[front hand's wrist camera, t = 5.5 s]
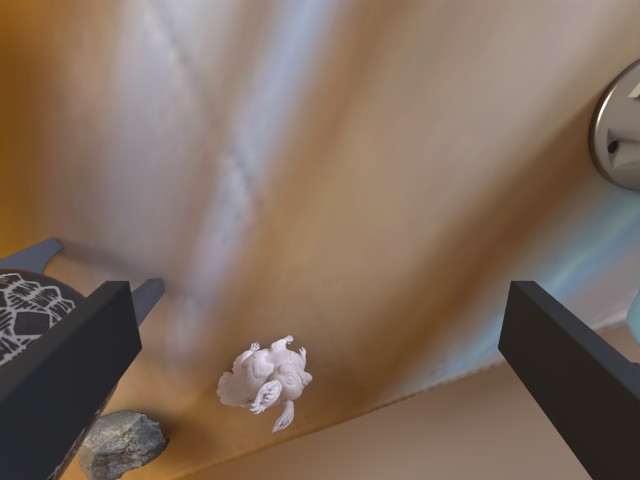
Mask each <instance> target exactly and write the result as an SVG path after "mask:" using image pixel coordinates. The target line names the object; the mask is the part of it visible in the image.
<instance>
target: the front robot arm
mask: <svg viewBox="0 0 640 480" xmlns="http://www.w3.org/2000/svg"><path fill="white" fill-rule="evenodd" d="M589 150H590V155H591V158H592V161H593V163H594V165H595V167H596V168H597V170H598V171H599V173H600V174H601V175H602V176H603V177H604V178H605V179H607V180H608V181H609V182H611V183H613V184H615V185H617V186H619V187H623V188H626V189H630V190H633V191H639V192H640V59H638V60H637V61H635V62H634V63H632V64H631V65H630V66H628V67H627V68H626V69H625V70H623V71H622V72H621V73H620V74H619V75H618V76H617V77H616V78H615V79H614V80H613V82H612V83H611V84H610V85H609V86H608V88H607V89H606V91H605V92H604V93H603V95H602V97H601V98H600V100H599V102H598V104H597V106H596V108H595V111H594V113H593V116H592V120H591V124H590V128H589ZM627 323H628V326H629V328H630V331H631V334H632V336H633V337H634V339H635V340H636V341H637V343H638V344H639V345H640V283H639V286H638V293H637V295H636V297H635V299H634V300H633V302H632V304H631V306H630V308H629V310H628V313H627ZM141 349H142V345H141V340H140V335H139V330H138V325H137V320H136V315H135V310H134V305H133V300H132V295H131V290H130V285H129V281H106V282H105V283H103V284H102V285H101V286H100V287H99V288H98V289H96V290H95V291H94V292H93V293H92V294H90V295H89V296H88V297H87V298H86V299H84V300H83V301H82V302H81V303H80V304H78V305H77V306H76V307H75V308H74V309H72V310H71V311H70V312H69V313H68V314H66V315H65V316H64V317H63V318H62V319H60V320H59V321H58V322H57V323H56V324H55V325H53V326H52V327H51V328H50V329H49V330H47V331H46V332H45V333H44V334H43V335H41V336H40V337H39V338H38V339H37V340H35V341H34V342H33V343H32V344H31V345H29V346H28V347H27V348H26V349H25V350H23V351H22V352H21V353H20V354H19V355H17V356H16V357H15V358H14V359H13V360H12V361H10V362H9V363H8V364H2V365H1V366H0V480H47V479H48V478H49V476H50V475H51V474H52V472H53V471H54V469H55V468H56V467H57V465H58V464H59V463H60V461H61V460H62V458H63V457H64V456H65V454H66V453H67V451H68V450H69V449H70V447H71V446H72V445H73V443H74V442H75V440H76V439H77V438H78V436H79V435H80V434H81V432H82V431H83V429H84V428H85V427H86V425H87V424H88V422H89V421H90V420H91V418H92V417H93V416H94V414H95V413H96V411H97V410H98V409H99V407H100V406H101V404H102V403H103V402H104V400H105V399H106V398H107V396H108V395H109V393H110V392H111V391H112V389H113V388H114V386H115V385H116V384H117V382H118V381H119V380H120V378H121V377H122V375H123V374H124V373H125V371H126V370H127V369H128V367H129V366H130V364H131V363H132V362H133V360H134V359H135V357H136V356H137V355H138V353H139V352H140V351H141ZM498 349H499V351H500V352H501V353H502V355H503V356H504V357H505V359H506V360H507V362H508V363H509V364H510V366H511V367H512V368H513V370H514V371H515V373H516V374H517V375H518V377H519V378H520V380H521V381H522V382H523V384H524V385H525V386H526V388H527V389H528V391H529V392H530V393H531V395H532V396H533V398H534V399H535V400H536V402H537V403H538V404H539V406H540V407H541V409H542V410H543V411H544V413H545V414H546V416H547V417H548V418H549V420H550V421H551V422H552V424H553V425H554V427H555V428H556V429H557V431H558V432H559V434H560V435H561V436H562V438H563V439H564V440H565V442H566V443H567V445H568V446H569V447H570V449H571V450H572V451H573V453H574V454H575V456H576V457H577V458H578V460H579V461H580V462H581V464H582V465H583V467H584V468H585V469H586V471H587V472H588V474H589V475H590V476H591V478H592V479H593V480H640V364H639V363H631V362H630V361H628V360H627V359H626V358H625V357H624V356H623V355H621V354H620V353H619V352H618V351H617V350H615V349H614V348H613V347H612V346H611V345H609V344H608V343H607V342H606V341H605V340H603V339H602V338H601V337H600V336H599V335H597V334H596V333H595V332H594V331H593V330H591V329H590V328H589V327H588V326H587V325H585V324H584V323H583V322H582V321H581V320H580V319H578V318H577V317H576V316H575V315H574V314H572V313H571V312H570V311H569V310H568V309H566V308H565V307H564V306H563V305H562V304H560V303H559V302H558V301H557V300H556V299H554V298H553V297H552V296H551V295H550V294H548V293H547V292H546V291H545V290H544V289H542V288H541V287H540V286H539V285H538V284H537V283H535V282H534V281H511V285H510V290H509V295H508V300H507V305H506V310H505V315H504V320H503V325H502V330H501V335H500V340H499V345H498Z"/></svg>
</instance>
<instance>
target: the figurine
mask: <svg viewBox="0 0 640 480" xmlns="http://www.w3.org/2000/svg"><path fill="white" fill-rule="evenodd" d="M293 340H294V339H292V336H290V335H288V336H287V337H286V338H284V339H281V340H278V341H277V342H274V343H272V345H271V346H270V348H267V349H263V350H259V351H257V350H258V349H259V348H260V347H258V346H259V344H257V345H256V343H255V344H254V346H253V344H251V347H250V349H249V351H245V352H244V353H242V355H240V356H238V358H236V361H235V362H234V363H233V366H234V367H233V368H232V370H233V373H230V372H224V373H223V375H222V377H221V378H220V379H219V383H218V389H217V392H216V393H217V395H219V396H221V398H220V401H221V403H222V404H224V405H229V406H230V407H238V406H239V407H242V408H253V409H250V410H251V411H253V412H255V411H257V410H258V411H257V412H256V413H254V414H259V413H260V412H261V411H263V412H264V409H266V408H268V407H274V406H278V405H282V407H283V412H282V414H281V415H280V417H279V418H278V419H277V420H276V422H275V424H274V428H273V430H272V431H271V434H272V433H273V432H274V433H276V431H277V430H278V431H279V430H282V429H284V428H286V427H287V426H288V425H289V424H290V423H291V422H292V420H293V417H294V405H293V402H292V400H295V399H297V398H299V397H300V395H301V393H302V391H303V389H304V387H305V386H306V385H308V383H310V382H311V381H312V376H311V375H310V374H309V373H307V372H304V368H305V364H306V357H305V355H306V350H305V349H303V348H302V347H301V349H302V351H301V349H299V351H300V355H299V354H297V353H295V352H293V351H290V350H287V349H286V344H291V343H290V342H291V341H293ZM255 346H256V347H255ZM257 347H258V348H257ZM248 400H250V401H248Z"/></svg>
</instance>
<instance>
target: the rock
mask: <svg viewBox="0 0 640 480" xmlns="http://www.w3.org/2000/svg"><path fill="white" fill-rule="evenodd" d="M140 417H141V418H140ZM139 418H140V419H139ZM168 442H169V439H167V441H166V443H165V439H164V438H163V435H162V432H161V430H160V428H159V423H158V422H153V421H150V420H149V419H148V418H147V417H146V415H145V414H142V415H141V414H140V413H135V412H134V411H132V410H123V411H119V412H118V411H117V412H114V413H111V414H108V415H105V416H101V417H99V418H98V420H97V421H96V423H95V424H94V426H93V428H92V429H91V431H90V432H89V434H88V436H87V437H86V439H85V440H84V442H83V443H82V445H81V447H80V448H79V450H78V457H79V462H80V464H81V470H82V471H83V472H84V473H85V474H86V476H87V478H88V479H90V480H115V479H118V478H121V477H122V475H123V474H124V473H125V472H126V471H129V470H132V469H135V468H139V467H141V466H144V465H146V464H147V463H149V462H151V461H152V460H154V459H155V458H157V457H158V456H159V455H160V454H161V452H162V451H164V450H165V448H166V447H167V445H168Z"/></svg>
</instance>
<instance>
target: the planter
mask: <svg viewBox="0 0 640 480" xmlns="http://www.w3.org/2000/svg"><path fill="white" fill-rule="evenodd" d="M62 248H63V247H62V246H61V245H60V244H59V243H58V242H57V241H56V240H55V239H54V238H50V239H48V240H45V241H43V242H41V243H38V244H36V245H34V246H31V247H29V248H27V249H24V250H22V251H20V252H17V253H15V254H13V255H10V256H8V257H6V258H4V259H1V260H0V366H1V365H2V364H8V363H9V362H10V361H12V360H13V359H14V358H15V357H16V356H17V355H19V354H20V353H21V352H22V351H23V350H25V349H26V348H27V347H28V346H29V345H31V344H32V343H33V342H34V341H35V340H37V339H38V338H39V337H40V336H41V335H43V334H44V333H45V332H46V331H47V330H49V329H50V328H51V327H52V326H53V325H55V324H56V323H57V322H58V321H59V320H60V319H62V318H63V317H64V316H65V315H66V314H68V313H69V312H70V311H71V310H72V309H74V308H75V307H76V306H77V305H78V304H80V303H81V302H82V301H83V300H84V299H86V297H85V296H83V295H82V294H81V293H79V292H78V291H76V290H75V289H73V288H71V287H70V286H68V285H66V284H64V283H62V282H60V281H58V280H56V279H54V278H51V277H48V276H45V275H42V273H43V270H44V268H45V266H46V265H47V263H48V261H49V260H50V259H51V258H52V257H53V256H54V255H55V254H56V253H58V252H59V251H60V250H61V249H62ZM164 292H165V290H164V287H163V283H162V280H161V278H157V279H148V280H147V281H146V282H145V283H144V284H142V285H141V286H140V287H139V288H137V289H136V290H135V291H133V292H132V293H131V295H132V300H133V305H134V310H135V315H136V320H137V325H138V327H139V326H140V324H141V323H142V322H143V320H144V319H145V318H146V316H147V315H148V313H149V312H150V311H151V309H152V308H153V307H154V305H155V304H156V303H157V301H158V300H159V298H160V297H161V296H162V294H163V293H164ZM118 382H119V381H118ZM118 382H117V384H116V385H115V386H114V388H113V389H112V391H111V392H110V393H109V395H108V396H107V398H106V399H105V400H104V402H103V403H102V404H101V406H100V407H99V409H98V410H97V411H96V413H95V414H94V416H93V417H92V418H91V420H90V421H89V422H88V424H87V425H86V427H85V428H84V429H83V431H82V432H81V434H80V435H79V436H78V438H77V439H76V440H75V442H74V443H73V445H72V446H71V447H70V449H69V450H68V451H67V453H66V454H65V456H64V457H63V458H62V460H61V461H60V463H59V464H58V465H57V467H56V468H55V469H54V471H53V472H52V474H51V475H50V476H49V478H48V479H47V480H60V478H61V477H62V475H63V474H64V472H65V470H66V469H67V467H68V466H69V464H70V463H71V461H72V459H73V458H74V456H75V455H76V453H77V451H78V450H79V448H80V447H81V445H82V443H83V442H84V440H85V439H86V437H87V436H88V434H89V432H90V431H91V429H92V428H93V426H94V424H95V423H96V421H97V420H98V418H99V417H100V415H101V413H102V412H103V410H104V409H105V407H106V405H107V404H108V402H109V401H110V399H111V397H112V395H113V393H114V392H115V390H116V388H117V385H118Z"/></svg>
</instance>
